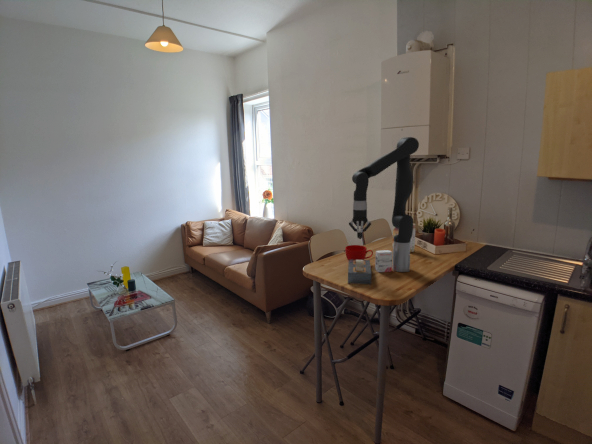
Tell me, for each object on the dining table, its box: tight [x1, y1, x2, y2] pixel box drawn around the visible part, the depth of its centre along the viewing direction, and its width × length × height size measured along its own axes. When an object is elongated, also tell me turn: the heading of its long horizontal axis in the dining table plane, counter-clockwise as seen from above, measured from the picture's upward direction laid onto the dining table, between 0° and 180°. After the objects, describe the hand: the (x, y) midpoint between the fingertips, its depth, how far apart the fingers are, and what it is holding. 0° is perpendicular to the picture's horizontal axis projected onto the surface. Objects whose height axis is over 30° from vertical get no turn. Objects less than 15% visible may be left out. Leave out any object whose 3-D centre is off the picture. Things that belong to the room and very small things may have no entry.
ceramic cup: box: [344, 244, 374, 262], centre depth 203 cm, size 13×17×10 cm
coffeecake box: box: [391, 223, 416, 253], centre depth 230 cm, size 15×7×20 cm, turn 25°
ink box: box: [374, 249, 393, 273], centre depth 190 cm, size 8×5×12 cm, turn 96°
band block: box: [347, 259, 372, 285], centre depth 183 cm, size 22×12×6 cm, turn 170°
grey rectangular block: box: [356, 259, 365, 271], centre depth 176 cm, size 4×4×6 cm
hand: (359, 238), depth 185 cm, fingers closed
